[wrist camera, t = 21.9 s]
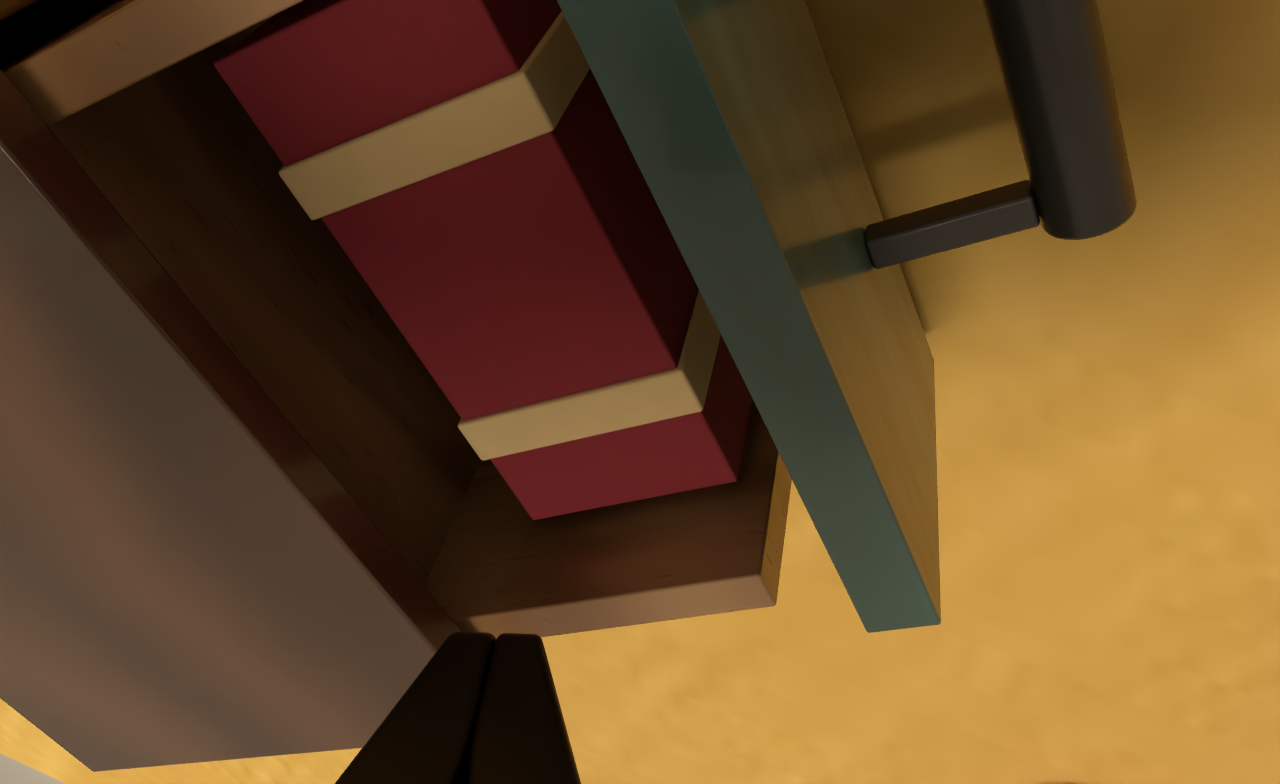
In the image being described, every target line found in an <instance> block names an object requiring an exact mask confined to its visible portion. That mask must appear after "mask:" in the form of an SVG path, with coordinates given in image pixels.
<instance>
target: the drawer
mask: <svg viewBox="0 0 1280 784" xmlns="http://www.w3.org/2000/svg"><path fill="white" fill-rule="evenodd" d="M302 1H304V0H114V1H112V2H111V3H109V4H107V5H106V6H104V7H102V8H101V9H99V10H97V11H96V12H94V13H92V14H91V15H89V16H87V17H86V18H84V19H82V20H81V21H79V22H77V23H76V24H74V25H72V26H71V27H69V28H67V29H66V30H64V31H62V32H61V33H59V34H58V35H56V36H54V37H53V38H51V39H49V40H48V41H46V42H44V43H43V44H41V45H39V46H38V47H36V48H34V49H33V50H31V51H29V52H28V53H26V54H24V55H23V56H21V57H19V58H18V59H16V60H14V61H13V62H11V63H9V64H8V65H6V66H4V67H3V68H1V70H2V71H3V72H4V74H5V75H6V76H7V77H8V79H9V80H10V81H11V82H12V83H13V85H14V86H15V87H16V88H17V90H18V91H19V92H20V93H21V94H22V96H23V97H24V98H25V99H26V101H27V102H28V103H29V104H30V105H31V107H32V108H33V109H34V110H35V111H36V113H37V114H38V115H39V116H40V118H41V119H42V120H43V121H44V122H45V124H46V125H47V126H48V127H49V129H50V130H51V131H52V132H53V133H54V135H55V136H56V137H57V138H58V140H59V141H60V142H61V143H62V144H63V146H64V147H65V148H66V149H67V151H68V152H69V153H70V154H71V155H72V157H73V158H74V159H75V160H76V161H77V163H78V164H79V165H80V166H81V168H82V169H83V170H84V171H85V172H86V174H87V175H88V176H89V177H90V179H91V180H92V181H93V182H94V183H95V185H96V186H97V187H98V188H99V190H100V191H101V192H102V193H103V194H104V196H105V197H106V198H107V199H108V201H109V202H110V203H111V204H112V205H113V207H114V208H115V209H116V210H117V211H118V213H119V214H120V215H121V216H122V218H123V219H124V220H125V221H126V222H127V224H128V225H129V226H130V227H131V229H132V230H133V231H134V232H135V233H136V235H137V236H138V237H139V238H140V240H141V241H142V242H143V243H144V244H145V246H146V247H147V248H148V249H149V251H150V252H151V253H152V254H153V255H154V257H155V258H156V259H157V260H158V261H159V263H160V264H161V265H162V266H163V268H164V269H165V270H166V271H167V272H168V274H169V275H170V276H171V277H172V279H173V280H174V281H175V282H176V283H177V285H178V286H179V287H180V288H181V290H182V291H183V292H184V293H185V294H186V296H187V297H188V298H189V299H190V301H191V302H192V303H193V304H194V305H195V307H196V308H197V309H198V310H199V311H200V313H201V314H202V315H203V316H204V318H205V319H206V320H207V321H208V322H209V324H210V325H211V326H212V327H213V329H214V330H215V331H216V332H217V333H218V335H219V336H220V337H221V338H222V340H223V341H224V342H225V343H226V344H227V346H228V347H229V348H230V349H231V351H232V352H233V353H234V354H235V355H236V357H237V358H238V359H239V360H240V361H241V363H242V364H243V365H244V366H245V368H246V369H247V370H248V371H249V372H250V374H251V375H252V376H253V377H254V379H255V380H256V381H257V382H258V383H259V385H260V386H261V387H262V388H263V390H264V391H265V392H266V393H267V394H268V396H269V397H270V398H271V399H272V401H273V402H274V403H275V404H276V405H277V407H278V408H279V409H280V410H281V411H282V413H283V414H284V415H285V416H286V418H287V419H288V420H289V421H290V422H291V424H292V425H293V426H294V427H295V429H296V430H297V431H298V432H299V433H300V435H301V436H302V437H303V438H304V440H305V441H306V442H307V443H308V444H309V446H310V447H311V448H312V449H313V451H314V452H315V453H316V454H317V455H318V457H319V458H320V459H321V460H322V461H323V463H324V464H325V465H326V466H327V468H328V469H329V470H330V471H331V472H332V474H333V475H334V476H335V477H336V479H337V480H338V481H339V482H340V483H341V485H342V486H343V487H344V488H345V490H346V491H347V492H348V493H349V494H350V496H351V497H352V498H353V499H354V501H355V502H356V503H357V504H358V505H359V507H360V508H361V509H362V510H363V511H364V513H365V514H366V515H367V516H368V518H369V519H370V520H371V521H372V522H373V524H374V525H375V526H376V527H377V529H378V530H379V531H380V532H381V533H382V535H383V536H384V537H385V538H386V540H387V541H388V542H389V543H390V544H391V546H392V547H393V548H394V549H395V551H396V552H397V553H398V554H399V555H400V557H401V558H402V559H403V560H404V561H405V563H406V564H407V565H408V566H409V568H410V569H411V570H412V571H413V572H414V574H415V575H416V576H417V577H418V579H419V580H420V581H421V582H422V583H423V585H424V586H425V587H426V588H427V590H428V591H429V592H430V593H431V594H432V596H433V597H434V598H435V599H436V601H437V602H438V603H439V604H440V605H441V607H442V608H443V609H444V610H445V611H446V613H447V614H448V615H449V616H450V618H451V619H452V620H453V621H454V622H455V624H456V625H457V626H458V627H459V629H460V630H461V631H462V632H486V633H491V634H493V635H494V636H495V637H496V639H497V637H498V636H499V635H501V634H503V633H522V634H537V635H538V636H540V637H546V636H554V635H561V634H569V633H576V632H584V631H591V630H599V629H606V628H614V627H621V626H628V625H636V624H643V623H651V622H658V621H666V620H673V619H681V618H688V617H696V616H703V615H711V614H718V613H726V612H733V611H741V610H748V609H755V608H763V607H770V606H775V605H776V601H777V593H778V585H779V577H780V569H781V561H782V553H783V545H784V537H785V529H786V521H787V513H788V505H789V497H790V489H791V481H792V480H793V482H794V484H795V486H796V488H797V490H798V492H799V494H800V496H801V498H802V501H803V503H804V505H805V507H806V509H807V511H808V513H809V515H810V517H811V519H812V521H813V523H814V525H815V527H816V529H817V531H818V533H819V535H820V537H821V539H822V541H823V543H824V545H825V547H826V549H827V551H828V553H829V555H830V558H831V560H832V562H833V564H834V566H835V568H836V570H837V572H838V574H839V576H840V578H841V580H842V582H843V584H844V586H845V588H846V590H847V592H848V594H849V596H850V598H851V600H852V602H853V604H854V606H855V608H856V610H857V612H858V615H859V617H860V619H861V621H862V623H863V625H864V627H865V629H866V631H867V632H869V633H871V632H879V631H888V630H896V629H905V628H914V627H922V626H931V625H938V624H940V622H941V609H940V572H939V535H938V497H937V460H936V423H935V386H934V359H933V356H932V353H931V351H930V348H929V345H928V342H927V340H926V337H925V334H924V331H923V328H922V326H921V323H920V320H919V317H918V314H917V312H916V309H915V306H914V303H913V300H912V298H911V295H910V292H909V289H908V286H907V284H906V281H905V278H904V275H903V272H902V270H901V267H900V264H899V263H902V262H906V261H910V260H914V259H917V258H921V257H925V256H929V255H932V254H936V253H940V252H944V251H947V250H951V249H955V248H959V247H962V246H966V245H970V244H974V243H977V242H981V241H985V240H989V239H992V238H996V237H1000V236H1004V235H1007V234H1011V233H1015V232H1019V231H1022V230H1026V229H1030V228H1034V227H1037V226H1038V225H1039V224H1040V220H1041V224H1042V227H1043V229H1044V230H1045V231H1046V232H1047V233H1048V234H1049V235H1051V236H1053V237H1055V238H1059V239H1064V240H1080V239H1087V238H1092V237H1096V236H1099V235H1102V234H1105V233H1108V232H1110V231H1112V230H1114V229H1116V228H1118V227H1119V226H1121V225H1122V224H1124V223H1125V222H1126V221H1127V220H1128V219H1129V218H1130V217H1131V216H1132V215H1133V213H1134V211H1135V208H1136V203H1137V202H1136V196H1135V191H1134V186H1133V181H1132V176H1131V172H1130V167H1129V162H1128V157H1127V152H1126V147H1125V142H1124V137H1123V132H1122V127H1121V122H1120V117H1119V112H1118V107H1117V102H1116V97H1115V92H1114V87H1113V82H1112V77H1111V72H1110V67H1109V62H1108V57H1107V53H1106V48H1105V43H1104V38H1103V33H1102V28H1101V23H1100V18H1099V13H1098V8H1097V3H1096V0H983V3H984V7H985V11H986V15H987V18H988V22H989V26H990V30H991V34H992V37H993V41H994V45H995V49H996V53H997V57H998V60H999V64H1000V68H1001V72H1002V76H1003V79H1004V83H1005V87H1006V91H1007V95H1008V98H1009V102H1010V106H1011V110H1012V114H1013V117H1014V121H1015V125H1016V129H1017V133H1018V137H1019V140H1020V144H1021V148H1022V152H1023V156H1024V159H1025V163H1026V167H1027V171H1028V175H1029V178H1030V181H1029V180H1024V181H1020V182H1017V183H1013V184H1010V185H1006V186H1003V187H999V188H996V189H992V190H989V191H985V192H982V193H978V194H975V195H971V196H968V197H964V198H961V199H957V200H954V201H950V202H947V203H943V204H940V205H936V206H933V207H929V208H926V209H922V210H919V211H915V212H912V213H908V214H905V215H901V216H898V217H894V218H891V219H887V220H884V219H883V217H882V214H881V211H880V208H879V205H878V203H877V200H876V197H875V194H874V191H873V189H872V186H871V183H870V180H869V177H868V175H867V172H866V169H865V166H864V163H863V161H862V158H861V155H860V152H859V149H858V147H857V144H856V141H855V138H854V135H853V133H852V130H851V127H850V124H849V122H848V119H847V116H846V113H845V110H844V108H843V105H842V102H841V99H840V96H839V94H838V91H837V88H836V85H835V82H834V80H833V77H832V74H831V71H830V68H829V66H828V63H827V60H826V57H825V54H824V52H823V49H822V46H821V43H820V40H819V38H818V35H817V32H816V29H815V26H814V24H813V21H812V18H811V15H810V13H809V10H808V7H807V4H806V1H805V0H557V2H558V4H559V6H560V8H561V10H562V12H563V14H564V16H565V18H566V20H567V22H568V24H569V26H570V28H571V30H572V32H573V34H574V36H575V38H576V40H577V42H578V44H579V46H580V48H581V50H582V53H583V55H584V57H585V59H586V61H587V63H588V65H589V67H590V69H591V71H592V73H593V75H594V77H595V79H596V81H597V83H598V85H599V87H600V89H601V91H602V93H603V95H604V97H605V99H606V101H607V103H608V105H609V108H610V110H611V112H612V114H613V116H614V118H615V120H616V122H617V124H618V126H619V128H620V130H621V132H622V134H623V136H624V138H625V140H626V142H627V144H628V146H629V148H630V150H631V152H632V154H633V156H634V158H635V160H636V162H637V165H638V167H639V169H640V171H641V173H642V175H643V177H644V179H645V181H646V183H647V185H648V187H649V189H650V191H651V193H652V195H653V197H654V199H655V201H656V203H657V205H658V207H659V209H660V211H661V213H662V215H663V217H664V220H665V222H666V224H667V226H668V228H669V230H670V232H671V234H672V236H673V238H674V240H675V242H676V244H677V246H678V248H679V250H680V252H681V254H682V256H683V258H684V260H685V262H686V264H687V266H688V268H689V270H690V272H691V274H692V277H693V279H694V281H695V283H696V285H697V287H698V289H699V291H700V293H701V295H702V297H703V299H704V301H705V303H706V305H707V307H708V309H709V311H710V313H711V315H712V317H713V319H714V321H715V323H716V325H717V327H718V329H719V331H720V334H721V336H722V338H723V340H724V342H725V344H726V346H727V348H728V350H729V352H730V354H731V356H732V358H733V360H734V362H735V364H736V366H737V368H738V370H739V372H740V374H741V376H742V378H743V380H744V382H745V384H746V386H747V389H748V391H749V393H750V395H751V397H752V402H751V407H750V413H749V418H748V424H747V429H746V435H745V440H744V446H743V451H742V457H741V462H740V468H739V473H738V479H737V481H735V482H731V483H725V484H720V485H715V486H710V487H705V488H699V489H694V490H689V491H684V492H678V493H673V494H668V495H663V496H657V497H652V498H647V499H642V500H637V501H631V502H626V503H621V504H616V505H610V506H605V507H600V508H595V509H590V510H584V511H579V512H574V513H569V514H563V515H558V516H553V517H548V518H543V519H537V520H533V519H532V518H531V517H530V515H529V514H528V513H527V511H526V510H525V508H524V507H523V505H522V504H521V503H520V501H519V500H518V498H517V497H516V495H515V494H514V493H513V491H512V490H511V488H510V487H509V485H508V484H507V483H506V481H505V480H504V478H503V477H502V476H501V474H500V473H499V471H498V470H497V468H496V467H495V466H494V464H493V463H492V461H491V460H490V459H488V460H481V459H480V458H479V456H478V455H477V453H476V452H475V451H474V449H473V448H472V446H471V445H470V444H469V442H468V441H467V439H466V438H465V436H464V435H463V434H462V432H461V431H460V429H459V428H458V423H459V421H460V419H461V417H460V416H459V414H458V413H457V411H456V410H455V408H454V407H453V406H452V404H451V403H450V401H449V400H448V398H447V397H446V396H445V394H444V393H443V391H442V390H441V388H440V387H439V386H438V384H437V383H436V381H435V380H434V379H433V377H432V376H431V374H430V373H429V371H428V370H427V369H426V367H425V366H424V364H423V363H422V361H421V360H420V359H419V357H418V356H417V354H416V353H415V351H414V350H413V349H412V347H411V346H410V344H409V343H408V341H407V340H406V339H405V337H404V336H403V334H402V333H401V331H400V330H399V329H398V327H397V326H396V324H395V323H394V321H393V320H392V319H391V317H390V316H389V314H388V313H387V311H386V310H385V309H384V307H383V306H382V304H381V303H380V301H379V300H378V299H377V297H376V296H375V294H374V293H373V291H372V290H371V289H370V287H369V286H368V284H367V283H366V281H365V280H364V279H363V277H362V276H361V274H360V273H359V272H358V270H357V269H356V267H355V266H354V264H353V263H352V262H351V260H350V259H349V257H348V256H347V254H346V253H345V252H344V250H343V249H342V247H341V246H340V244H339V243H338V242H337V240H336V239H335V237H334V236H333V234H332V233H331V232H330V230H329V229H328V227H327V226H326V224H325V223H324V222H323V220H322V219H321V218H319V219H316V220H311V219H310V218H309V216H308V215H307V213H306V212H305V211H304V209H303V208H302V206H301V205H300V203H299V202H298V201H297V199H296V198H295V196H294V195H293V194H292V192H291V191H290V189H289V188H288V187H287V185H286V184H285V182H284V181H283V179H282V178H281V177H280V175H279V171H280V169H281V168H282V167H283V166H284V165H283V163H282V162H281V160H280V159H279V157H278V156H277V155H276V153H275V152H274V150H273V149H272V147H271V146H270V145H269V143H268V142H267V140H266V139H265V137H264V136H263V135H262V133H261V132H260V130H259V129H258V127H257V126H256V125H255V123H254V122H253V120H252V119H251V117H250V116H249V115H248V113H247V112H246V110H245V109H244V107H243V106H242V105H241V103H240V102H239V100H238V99H237V97H236V96H235V95H234V93H233V92H232V90H231V89H230V87H229V86H228V85H227V83H226V82H225V80H224V79H223V78H222V76H221V75H220V73H219V72H218V70H217V69H216V68H215V66H214V63H215V61H216V60H217V59H219V58H220V57H221V56H223V55H224V54H225V53H226V52H228V51H229V50H230V49H232V48H233V47H234V46H235V45H237V44H238V43H239V42H241V41H242V40H243V39H245V38H246V37H247V36H248V35H250V34H251V33H252V32H254V31H255V30H256V29H257V28H259V27H260V26H261V25H263V24H264V23H265V22H266V21H268V20H269V19H270V18H272V17H273V16H274V15H275V14H277V13H280V12H282V11H284V10H286V9H288V8H290V7H292V6H294V5H296V4H298V3H300V2H302ZM1039 217H1040V218H1039Z"/></svg>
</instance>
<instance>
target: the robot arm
mask: <svg viewBox="0 0 1280 784" xmlns="http://www.w3.org/2000/svg"><path fill="white" fill-rule="evenodd" d="M335 784H581V782H580V778H579V774H578V771H577V767H576V763H575V760H574V756H573V752H572V749H571V745H570V741H569V737H568V734H567V730H566V726H565V723H564V719H563V715H562V711H561V708H560V704H559V700H558V697H557V693H556V689H555V686H554V682H553V678H552V674H551V671H550V667H549V663H548V660H547V656H546V652H545V649H544V645H543V642H542V639H541V638H540V636H538V635H537V634H522V633H503V634H501V635H499V636H498V637H497V639H496V637H495V636H494V635H493V634H491V633H486V632H455V633H453V634H451V635H450V636H449V637H448V638H447V639H446V640H445V641H444V643H443V644H442V645H441V647H440V648H439V649H438V650H437V652H436V653H435V654H434V656H433V657H432V658H431V660H430V661H429V662H428V663H427V665H426V666H425V667H424V669H423V670H422V671H421V672H420V674H419V675H418V676H417V678H416V679H415V680H414V682H413V683H412V684H411V685H410V687H409V688H408V689H407V691H406V692H405V693H404V695H403V696H402V697H401V698H400V700H399V701H398V702H397V704H396V705H395V706H394V708H393V709H392V710H391V711H390V713H389V714H388V715H387V717H386V718H385V719H384V721H383V722H382V723H381V724H380V726H379V727H378V728H377V730H376V731H375V732H374V734H373V735H372V736H371V737H370V739H369V740H368V741H367V743H366V744H365V745H364V747H363V748H362V749H361V750H360V752H359V753H358V754H357V756H356V757H355V758H354V760H353V761H352V762H351V763H350V765H349V766H348V767H347V769H346V770H345V771H344V773H343V774H342V775H341V776H340V778H339V779H338V780H337V782H336V783H335Z"/></svg>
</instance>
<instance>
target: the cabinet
mask: <svg viewBox="0 0 1280 784" xmlns="http://www.w3.org/2000/svg"><path fill="white" fill-rule="evenodd" d="M112 1H114V0H0V698H1V699H2V700H3V701H5V702H6V703H7V704H8V705H10V706H11V707H12V708H13V709H15V710H16V711H17V712H18V713H20V714H21V715H22V716H24V717H25V718H26V719H27V720H29V721H30V722H31V723H32V724H34V725H35V726H36V727H37V728H39V729H40V730H41V731H42V732H44V733H45V734H46V735H48V736H49V737H50V738H51V739H53V740H54V741H55V742H56V743H58V744H59V745H60V746H61V747H63V748H64V749H65V750H66V751H68V752H69V753H70V754H72V755H73V756H74V757H75V758H77V759H78V760H79V761H80V762H82V763H83V764H84V765H85V766H87V767H88V768H89V769H90V770H92V771H94V772H96V771H107V770H118V769H130V768H141V767H152V766H164V765H175V764H186V763H197V762H209V761H220V760H231V759H242V758H254V757H265V756H276V755H288V754H299V753H310V752H321V751H333V750H344V749H355V748H363V747H364V745H365V744H366V743H367V741H368V740H369V739H370V737H371V736H372V735H373V734H374V732H375V731H376V730H377V728H378V727H379V726H380V724H381V723H382V722H383V721H384V719H385V718H386V717H387V715H388V714H389V713H390V711H391V710H392V709H393V708H394V706H395V705H396V704H397V702H398V701H399V700H400V698H401V697H402V696H403V695H404V693H405V692H406V691H407V689H408V688H409V687H410V685H411V684H412V683H413V682H414V680H415V679H416V678H417V676H418V675H419V674H420V672H421V671H422V670H423V669H424V667H425V666H426V665H427V663H428V662H429V661H430V660H431V658H432V657H433V656H434V654H435V653H436V652H437V650H438V649H439V648H440V647H441V645H442V644H443V643H444V641H445V640H446V639H447V638H448V637H449V636H450V635H451V634H453V633H455V632H462V631H461V630H460V629H459V627H458V626H457V625H456V624H455V622H454V621H453V620H452V619H451V618H450V616H449V615H448V614H447V613H446V611H445V610H444V609H443V608H442V607H441V605H440V604H439V603H438V602H437V601H436V599H435V598H434V597H433V596H432V594H431V593H430V592H429V591H428V590H427V588H426V587H425V586H424V585H423V583H422V582H421V581H420V580H419V579H418V577H417V576H416V575H415V574H414V572H413V571H412V570H411V569H410V568H409V566H408V565H407V564H406V563H405V561H404V560H403V559H402V558H401V557H400V555H399V554H398V553H397V552H396V551H395V549H394V548H393V547H392V546H391V544H390V543H389V542H388V541H387V540H386V538H385V537H384V536H383V535H382V533H381V532H380V531H379V530H378V529H377V527H376V526H375V525H374V524H373V522H372V521H371V520H370V519H369V518H368V516H367V515H366V514H365V513H364V511H363V510H362V509H361V508H360V507H359V505H358V504H357V503H356V502H355V501H354V499H353V498H352V497H351V496H350V494H349V493H348V492H347V491H346V490H345V488H344V487H343V486H342V485H341V483H340V482H339V481H338V480H337V479H336V477H335V476H334V475H333V474H332V472H331V471H330V470H329V469H328V468H327V466H326V465H325V464H324V463H323V461H322V460H321V459H320V458H319V457H318V455H317V454H316V453H315V452H314V451H313V449H312V448H311V447H310V446H309V444H308V443H307V442H306V441H305V440H304V438H303V437H302V436H301V435H300V433H299V432H298V431H297V430H296V429H295V427H294V426H293V425H292V424H291V422H290V421H289V420H288V419H287V418H286V416H285V415H284V414H283V413H282V411H281V410H280V409H279V408H278V407H277V405H276V404H275V403H274V402H273V401H272V399H271V398H270V397H269V396H268V394H267V393H266V392H265V391H264V390H263V388H262V387H261V386H260V385H259V383H258V382H257V381H256V380H255V379H254V377H253V376H252V375H251V374H250V372H249V371H248V370H247V369H246V368H245V366H244V365H243V364H242V363H241V361H240V360H239V359H238V358H237V357H236V355H235V354H234V353H233V352H232V351H231V349H230V348H229V347H228V346H227V344H226V343H225V342H224V341H223V340H222V338H221V337H220V336H219V335H218V333H217V332H216V331H215V330H214V329H213V327H212V326H211V325H210V324H209V322H208V321H207V320H206V319H205V318H204V316H203V315H202V314H201V313H200V311H199V310H198V309H197V308H196V307H195V305H194V304H193V303H192V302H191V301H190V299H189V298H188V297H187V296H186V294H185V293H184V292H183V291H182V290H181V288H180V287H179V286H178V285H177V283H176V282H175V281H174V280H173V279H172V277H171V276H170V275H169V274H168V272H167V271H166V270H165V269H164V268H163V266H162V265H161V264H160V263H159V261H158V260H157V259H156V258H155V257H154V255H153V254H152V253H151V252H150V251H149V249H148V248H147V247H146V246H145V244H144V243H143V242H142V241H141V240H140V238H139V237H138V236H137V235H136V233H135V232H134V231H133V230H132V229H131V227H130V226H129V225H128V224H127V222H126V221H125V220H124V219H123V218H122V216H121V215H120V214H119V213H118V211H117V210H116V209H115V208H114V207H113V205H112V204H111V203H110V202H109V201H108V199H107V198H106V197H105V196H104V194H103V193H102V192H101V191H100V190H99V188H98V187H97V186H96V185H95V183H94V182H93V181H92V180H91V179H90V177H89V176H88V175H87V174H86V172H85V171H84V170H83V169H82V168H81V166H80V165H79V164H78V163H77V161H76V160H75V159H74V158H73V157H72V155H71V154H70V153H69V152H68V151H67V149H66V148H65V147H64V146H63V144H62V143H61V142H60V141H59V140H58V138H57V137H56V136H55V135H54V133H53V132H52V131H51V130H50V129H49V127H48V126H47V125H46V124H45V122H44V121H43V120H42V119H41V118H40V116H39V115H38V114H37V113H36V111H35V110H34V109H33V108H32V107H31V105H30V104H29V103H28V102H27V101H26V99H25V98H24V97H23V96H22V94H21V93H20V92H19V91H18V90H17V88H16V87H15V86H14V85H13V83H12V82H11V81H10V80H9V79H8V77H7V76H6V75H5V74H4V72H3V71H2V70H1V68H3V67H4V66H6V65H8V64H9V63H11V62H13V61H14V60H16V59H18V58H19V57H21V56H23V55H24V54H26V53H28V52H29V51H31V50H33V49H34V48H36V47H38V46H39V45H41V44H43V43H44V42H46V41H48V40H49V39H51V38H53V37H54V36H56V35H58V34H59V33H61V32H62V31H64V30H66V29H67V28H69V27H71V26H72V25H74V24H76V23H77V22H79V21H81V20H82V19H84V18H86V17H87V16H89V15H91V14H92V13H94V12H96V11H97V10H99V9H101V8H102V7H104V6H106V5H107V4H109V3H111V2H112Z"/></svg>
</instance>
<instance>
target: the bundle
mask: <svg viewBox="0 0 1280 784" xmlns="http://www.w3.org/2000/svg"><path fill="white" fill-rule="evenodd" d="M214 66H215V68H216V69H217V70H218V72H219V73H220V75H221V76H222V78H223V79H224V80H225V82H226V83H227V85H228V86H229V87H230V89H231V90H232V92H233V93H234V95H235V96H236V97H237V99H238V100H239V102H240V103H241V105H242V106H243V107H244V109H245V110H246V112H247V113H248V115H249V116H250V117H251V119H252V120H253V122H254V123H255V125H256V126H257V127H258V129H259V130H260V132H261V133H262V135H263V136H264V137H265V139H266V140H267V142H268V143H269V145H270V146H271V147H272V149H273V150H274V152H275V153H276V155H277V156H278V157H279V159H280V160H281V162H282V163H283V165H284V166H283V167H282V168H281V169H280V171H279V175H280V177H281V178H282V179H283V181H284V182H285V184H286V185H287V187H288V188H289V189H290V191H291V192H292V194H293V195H294V196H295V198H296V199H297V201H298V202H299V203H300V205H301V206H302V208H303V209H304V211H305V212H306V213H307V215H308V216H309V218H310V219H311V220H316V219H319V218H321V219H322V220H323V222H324V223H325V224H326V226H327V227H328V229H329V230H330V232H331V233H332V234H333V236H334V237H335V239H336V240H337V242H338V243H339V244H340V246H341V247H342V249H343V250H344V252H345V253H346V254H347V256H348V257H349V259H350V260H351V262H352V263H353V264H354V266H355V267H356V269H357V270H358V272H359V273H360V274H361V276H362V277H363V279H364V280H365V281H366V283H367V284H368V286H369V287H370V289H371V290H372V291H373V293H374V294H375V296H376V297H377V299H378V300H379V301H380V303H381V304H382V306H383V307H384V309H385V310H386V311H387V313H388V314H389V316H390V317H391V319H392V320H393V321H394V323H395V324H396V326H397V327H398V329H399V330H400V331H401V333H402V334H403V336H404V337H405V339H406V340H407V341H408V343H409V344H410V346H411V347H412V349H413V350H414V351H415V353H416V354H417V356H418V357H419V359H420V360H421V361H422V363H423V364H424V366H425V367H426V369H427V370H428V371H429V373H430V374H431V376H432V377H433V379H434V380H435V381H436V383H437V384H438V386H439V387H440V388H441V390H442V391H443V393H444V394H445V396H446V397H447V398H448V400H449V401H450V403H451V404H452V406H453V407H454V408H455V410H456V411H457V413H458V414H459V416H460V417H461V419H460V421H459V423H458V428H459V429H460V431H461V432H462V434H463V435H464V436H465V438H466V439H467V441H468V442H469V444H470V445H471V446H472V448H473V449H474V451H475V452H476V453H477V455H478V456H479V458H480V459H481V460H488V459H490V460H491V461H492V463H493V464H494V466H495V467H496V468H497V470H498V471H499V473H500V474H501V476H502V477H503V478H504V480H505V481H506V483H507V484H508V485H509V487H510V488H511V490H512V491H513V493H514V494H515V495H516V497H517V498H518V500H519V501H520V503H521V504H522V505H523V507H524V508H525V510H526V511H527V513H528V514H529V515H530V517H531V518H532V519H533V520H537V519H543V518H548V517H553V516H558V515H563V514H569V513H574V512H579V511H584V510H590V509H595V508H600V507H605V506H610V505H616V504H621V503H626V502H631V501H637V500H642V499H647V498H652V497H657V496H663V495H668V494H673V493H678V492H684V491H689V490H694V489H699V488H705V487H710V486H715V485H720V484H725V483H731V482H735V481H737V479H738V473H739V468H740V462H741V457H742V451H743V446H744V440H745V435H746V429H747V424H748V418H749V413H750V407H751V402H752V397H751V395H750V393H749V391H748V389H747V386H746V384H745V382H744V380H743V378H742V376H741V374H740V372H739V370H738V368H737V366H736V364H735V362H734V360H733V358H732V356H731V354H730V352H729V350H728V348H727V346H726V344H725V342H724V340H723V338H722V336H721V334H720V331H719V329H718V327H717V325H716V323H715V321H714V319H713V317H712V315H711V313H710V311H709V309H708V307H707V305H706V303H705V301H704V299H703V297H702V295H701V293H700V291H699V289H698V287H697V285H696V283H695V281H694V279H693V277H692V274H691V272H690V270H689V268H688V266H687V264H686V262H685V260H684V258H683V256H682V254H681V252H680V250H679V248H678V246H677V244H676V242H675V240H674V238H673V236H672V234H671V232H670V230H669V228H668V226H667V224H666V222H665V220H664V217H663V215H662V213H661V211H660V209H659V207H658V205H657V203H656V201H655V199H654V197H653V195H652V193H651V191H650V189H649V187H648V185H647V183H646V181H645V179H644V177H643V175H642V173H641V171H640V169H639V167H638V165H637V162H636V160H635V158H634V156H633V154H632V152H631V150H630V148H629V146H628V144H627V142H626V140H625V138H624V136H623V134H622V132H621V130H620V128H619V126H618V124H617V122H616V120H615V118H614V116H613V114H612V112H611V110H610V108H609V105H608V103H607V101H606V99H605V97H604V95H603V93H602V91H601V89H600V87H599V85H598V83H597V81H596V79H595V77H594V75H593V73H592V71H591V69H590V67H589V65H588V63H587V61H586V59H585V57H584V55H583V53H582V50H581V48H580V46H579V44H578V42H577V40H576V38H575V36H574V34H573V32H572V30H571V28H570V26H569V24H568V22H567V20H566V18H565V16H564V14H563V12H562V10H561V8H560V6H559V4H558V2H557V0H304V1H302V2H300V3H298V4H296V5H294V6H292V7H290V8H288V9H286V10H284V11H282V12H280V13H277V14H275V15H274V16H273V17H272V18H270V19H269V20H268V21H266V22H265V23H264V24H263V25H261V26H260V27H259V28H257V29H256V30H255V31H254V32H252V33H251V34H250V35H248V36H247V37H246V38H245V39H243V40H242V41H241V42H239V43H238V44H237V45H235V46H234V47H233V48H232V49H230V50H229V51H228V52H226V53H225V54H224V55H223V56H221V57H220V58H219V59H217V60H216V61H215V63H214Z"/></svg>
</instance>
